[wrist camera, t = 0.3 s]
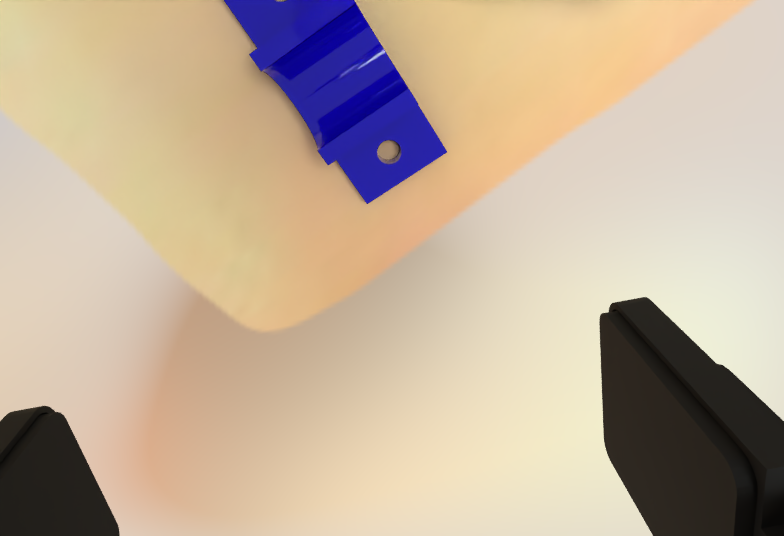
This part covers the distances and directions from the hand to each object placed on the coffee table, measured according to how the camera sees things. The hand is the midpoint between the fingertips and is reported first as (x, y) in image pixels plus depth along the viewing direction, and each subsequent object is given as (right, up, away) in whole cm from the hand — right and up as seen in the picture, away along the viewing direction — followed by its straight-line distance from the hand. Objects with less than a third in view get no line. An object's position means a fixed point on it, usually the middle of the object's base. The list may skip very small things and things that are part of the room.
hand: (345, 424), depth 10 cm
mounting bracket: (-3, +17, +33) cm, 37 cm away
